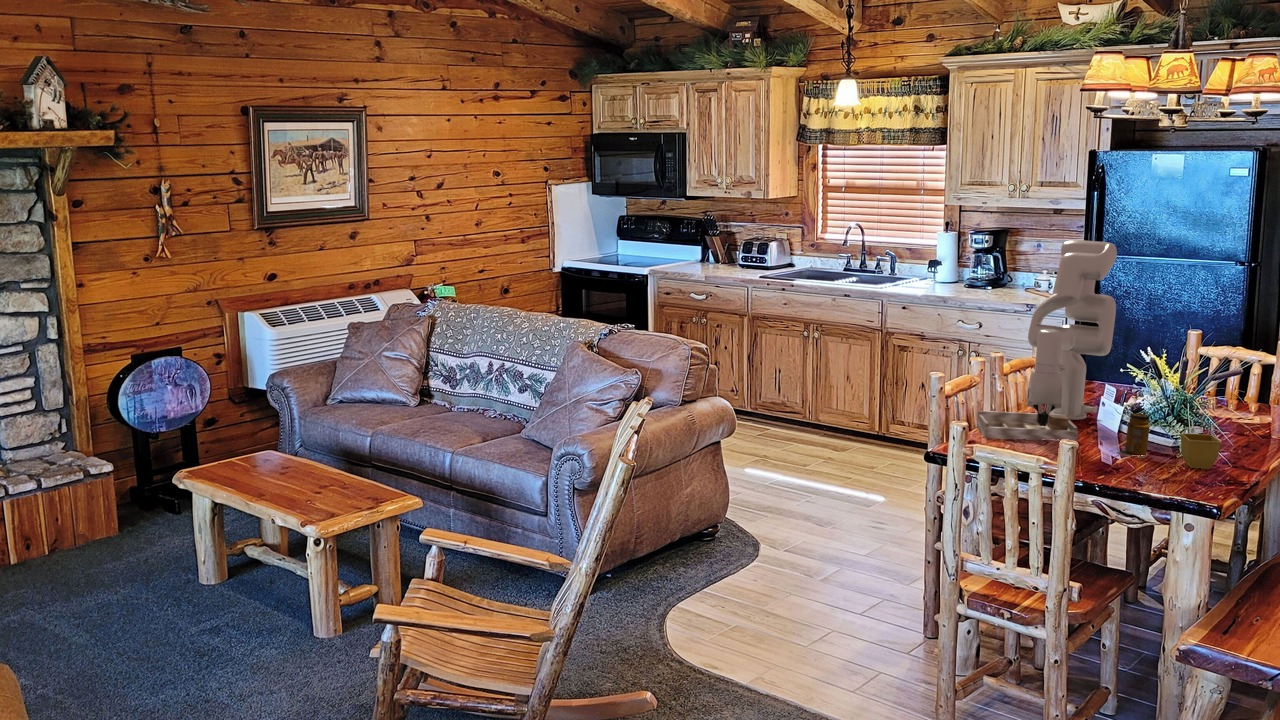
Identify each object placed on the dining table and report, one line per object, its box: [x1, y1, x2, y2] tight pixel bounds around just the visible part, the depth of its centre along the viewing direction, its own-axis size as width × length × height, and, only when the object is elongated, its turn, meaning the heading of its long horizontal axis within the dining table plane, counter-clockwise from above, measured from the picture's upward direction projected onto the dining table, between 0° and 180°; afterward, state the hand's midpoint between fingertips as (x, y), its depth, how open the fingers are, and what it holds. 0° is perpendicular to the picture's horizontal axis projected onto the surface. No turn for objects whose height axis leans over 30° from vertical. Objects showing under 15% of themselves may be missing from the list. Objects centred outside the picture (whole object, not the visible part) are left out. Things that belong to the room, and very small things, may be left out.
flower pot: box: [1180, 432, 1222, 470], centre depth 326 cm, size 9×9×9 cm
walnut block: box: [1048, 414, 1069, 430], centre depth 357 cm, size 5×5×4 cm
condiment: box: [1116, 412, 1151, 459], centre depth 338 cm, size 7×8×12 cm
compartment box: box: [976, 410, 1079, 443], centre depth 358 cm, size 28×14×6 cm, turn 84°
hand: (1042, 425), depth 358 cm, fingers closed
